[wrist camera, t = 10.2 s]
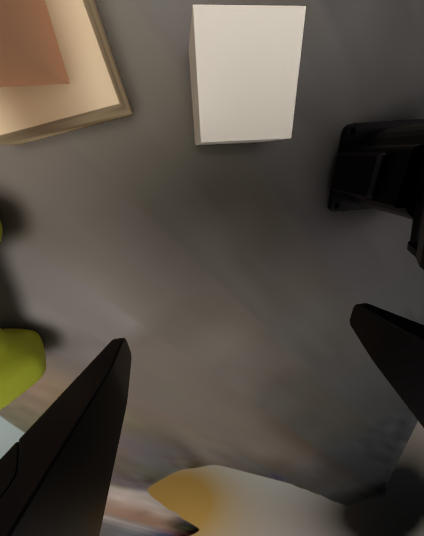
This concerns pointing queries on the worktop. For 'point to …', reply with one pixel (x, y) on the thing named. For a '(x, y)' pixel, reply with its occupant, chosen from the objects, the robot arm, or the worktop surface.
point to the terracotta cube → (28, 45)
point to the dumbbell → (19, 360)
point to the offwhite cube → (244, 71)
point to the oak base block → (80, 78)
